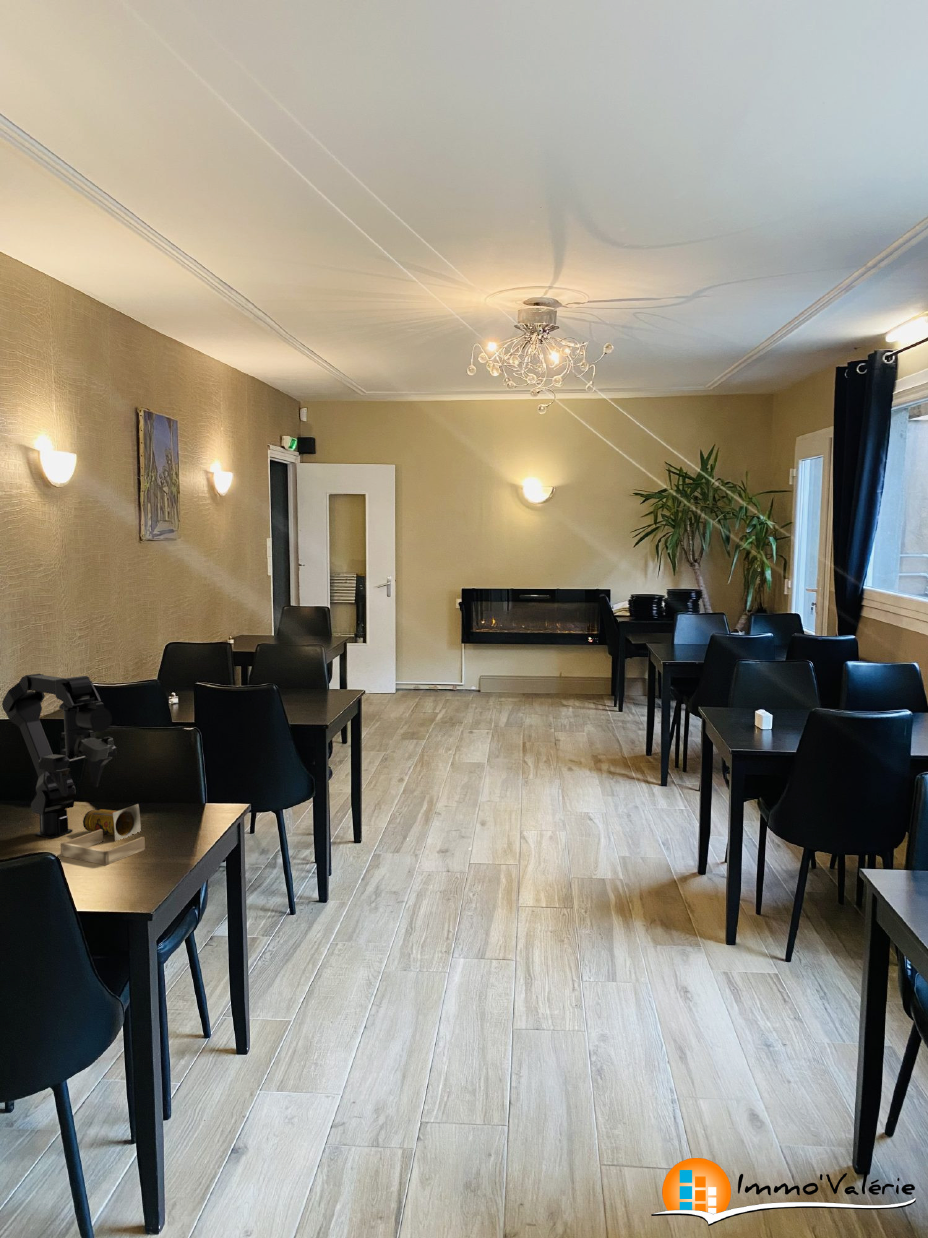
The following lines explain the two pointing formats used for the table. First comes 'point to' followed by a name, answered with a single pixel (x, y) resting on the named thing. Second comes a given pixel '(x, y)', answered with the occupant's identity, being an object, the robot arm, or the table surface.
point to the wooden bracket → (81, 850)
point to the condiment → (114, 821)
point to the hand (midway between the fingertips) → (80, 791)
